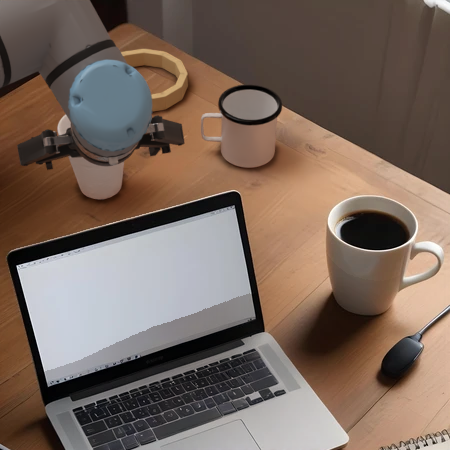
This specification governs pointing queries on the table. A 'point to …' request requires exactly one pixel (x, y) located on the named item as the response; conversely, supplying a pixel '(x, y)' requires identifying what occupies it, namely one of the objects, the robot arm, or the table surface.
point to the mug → (247, 124)
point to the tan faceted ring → (165, 62)
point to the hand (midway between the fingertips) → (100, 152)
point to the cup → (94, 172)
